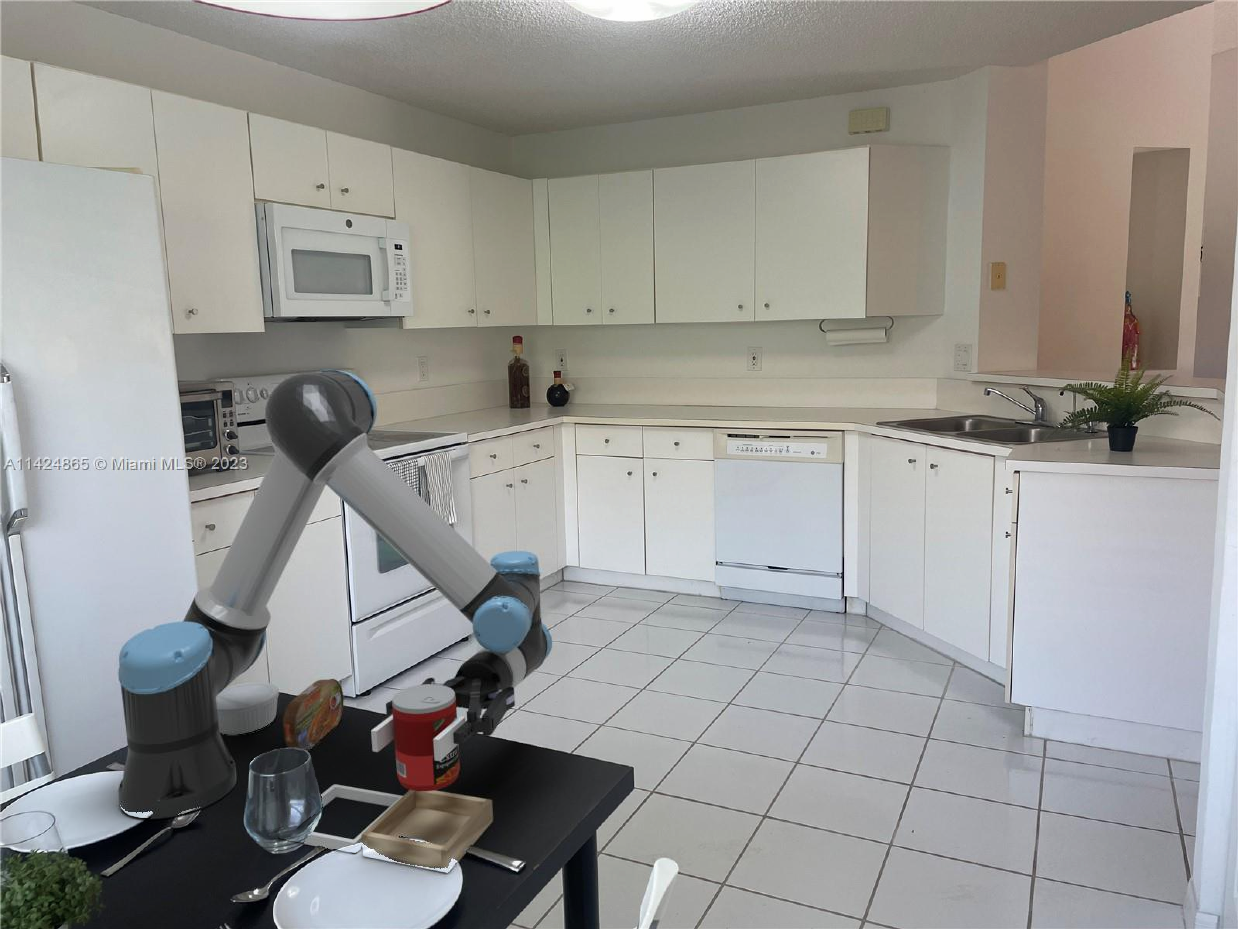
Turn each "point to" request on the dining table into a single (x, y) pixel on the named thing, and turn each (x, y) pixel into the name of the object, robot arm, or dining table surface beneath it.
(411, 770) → the canned food
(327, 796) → the grey plastic frame
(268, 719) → the ramekin
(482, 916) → the dining table surface
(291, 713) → the tin
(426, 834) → the tray
